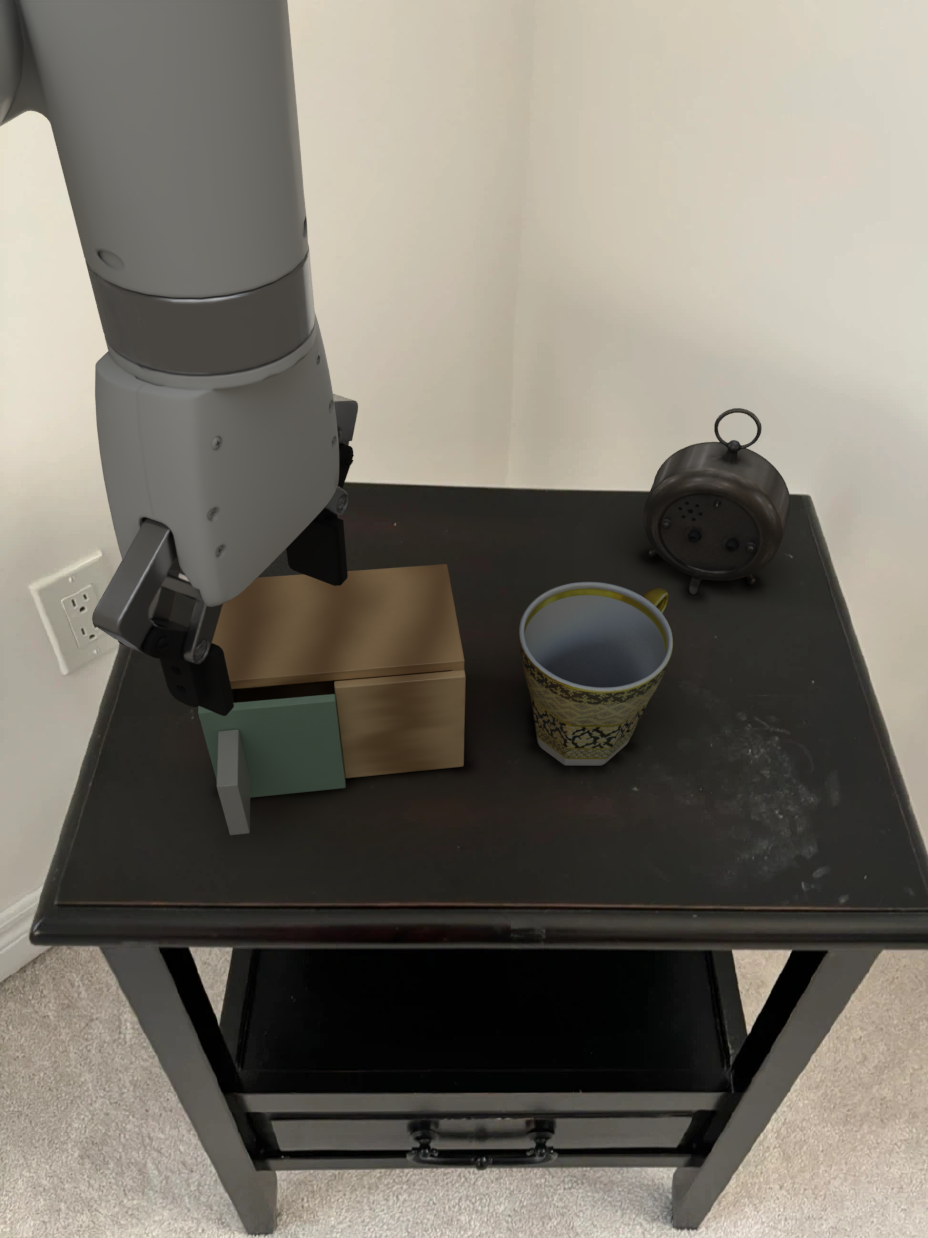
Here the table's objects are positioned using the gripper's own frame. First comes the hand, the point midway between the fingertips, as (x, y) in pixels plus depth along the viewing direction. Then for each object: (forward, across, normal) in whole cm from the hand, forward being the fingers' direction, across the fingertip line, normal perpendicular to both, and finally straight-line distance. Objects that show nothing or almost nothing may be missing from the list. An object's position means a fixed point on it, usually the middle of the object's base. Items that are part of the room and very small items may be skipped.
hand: (263, 634), depth 50 cm
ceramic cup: (+21, -20, +12) cm, 31 cm away
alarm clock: (+21, -38, +14) cm, 46 cm away
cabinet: (+21, -11, -4) cm, 24 cm away
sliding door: (+20, -2, -3) cm, 20 cm away
